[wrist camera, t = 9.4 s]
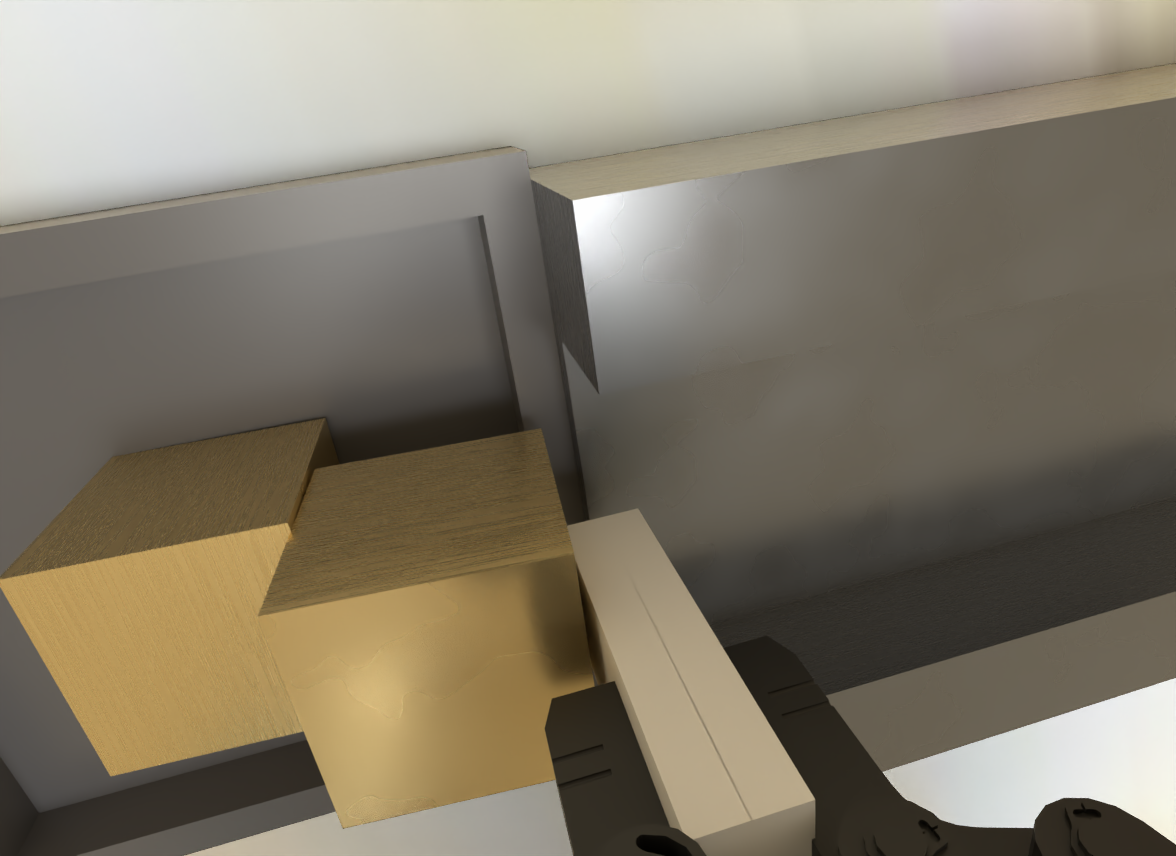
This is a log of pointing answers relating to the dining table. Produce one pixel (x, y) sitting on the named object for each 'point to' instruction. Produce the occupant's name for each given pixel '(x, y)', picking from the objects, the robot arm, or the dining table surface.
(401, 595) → the brass block
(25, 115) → the dining table surface
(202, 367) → the tray
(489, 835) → the dining table surface
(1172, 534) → the slot plate
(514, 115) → the dining table surface
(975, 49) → the dining table surface
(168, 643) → the brass block
